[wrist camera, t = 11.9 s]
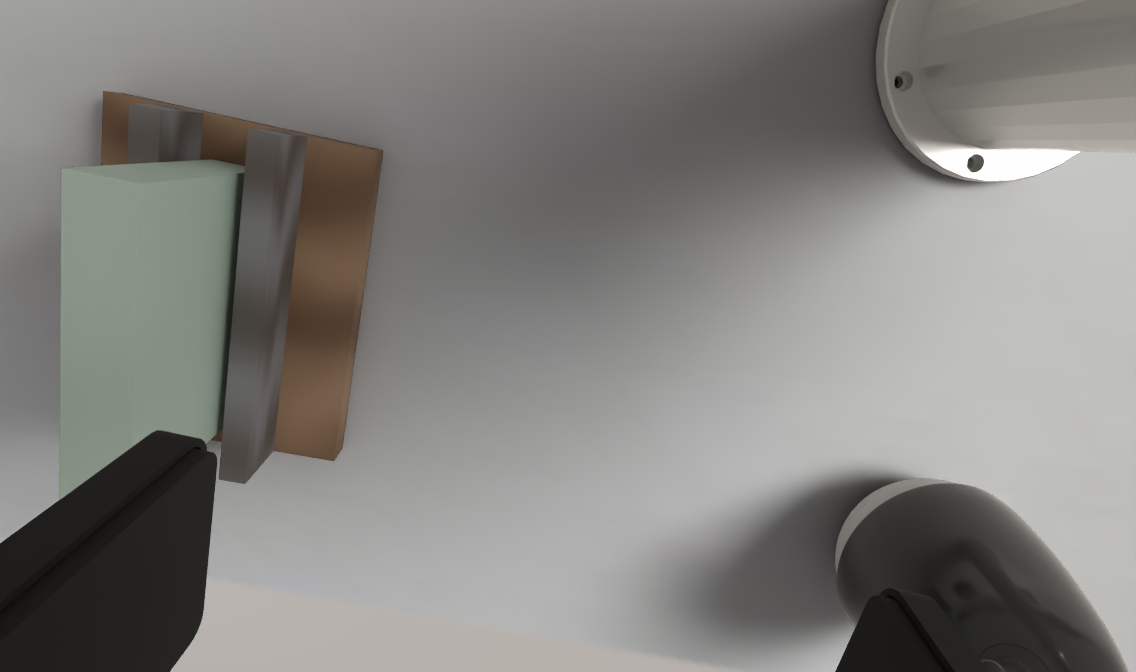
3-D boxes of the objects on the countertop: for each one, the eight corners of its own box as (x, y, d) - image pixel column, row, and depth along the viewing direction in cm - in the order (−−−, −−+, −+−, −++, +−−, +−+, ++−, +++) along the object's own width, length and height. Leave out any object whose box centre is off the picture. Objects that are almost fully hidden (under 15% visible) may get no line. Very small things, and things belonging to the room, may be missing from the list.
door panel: (211, 159, 31) (61, 168, 21) (265, 170, 31) (140, 184, 21) (196, 400, 34) (59, 502, 24) (245, 408, 34) (128, 513, 24)
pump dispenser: (887, 417, 37) (1112, 594, 23) (1016, 508, 39) (1300, 725, 25) (771, 550, 39) (909, 792, 25) (900, 631, 41) (1097, 897, 27)
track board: (123, 93, 31) (47, 84, 26) (383, 150, 32) (355, 152, 27) (112, 408, 35) (44, 450, 30) (342, 448, 36) (312, 495, 32)
